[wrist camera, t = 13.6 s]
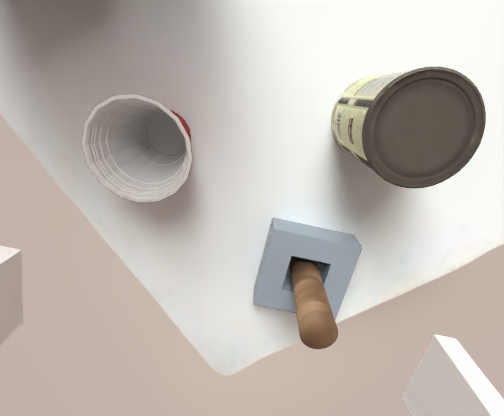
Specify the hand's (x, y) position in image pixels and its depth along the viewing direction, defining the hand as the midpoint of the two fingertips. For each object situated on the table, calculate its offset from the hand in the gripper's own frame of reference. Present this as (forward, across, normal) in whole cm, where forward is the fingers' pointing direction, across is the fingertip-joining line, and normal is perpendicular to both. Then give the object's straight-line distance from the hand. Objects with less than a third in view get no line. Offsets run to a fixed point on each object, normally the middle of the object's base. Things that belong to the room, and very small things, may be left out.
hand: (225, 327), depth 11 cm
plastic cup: (+35, -11, -1) cm, 37 cm away
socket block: (+35, +11, -15) cm, 39 cm away
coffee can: (+35, +14, +7) cm, 38 cm away
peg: (+35, +11, -15) cm, 39 cm away
